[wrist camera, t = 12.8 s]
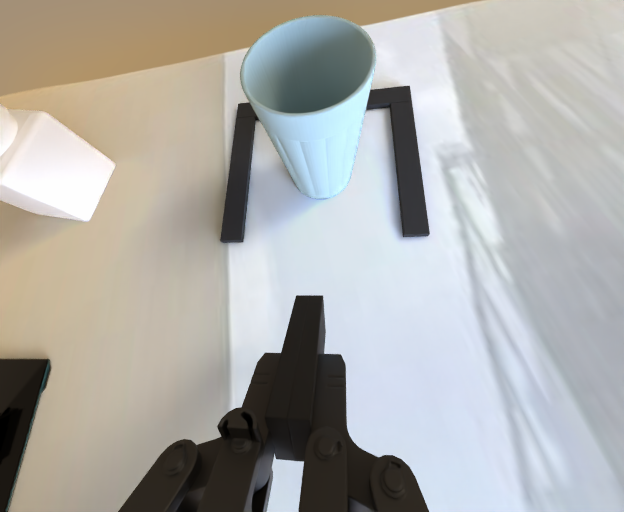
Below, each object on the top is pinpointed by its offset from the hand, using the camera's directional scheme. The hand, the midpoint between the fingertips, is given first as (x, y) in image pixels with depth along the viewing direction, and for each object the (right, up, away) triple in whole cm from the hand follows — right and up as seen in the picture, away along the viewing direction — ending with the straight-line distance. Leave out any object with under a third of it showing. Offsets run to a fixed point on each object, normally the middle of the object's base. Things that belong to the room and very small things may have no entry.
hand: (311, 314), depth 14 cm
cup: (+1, +11, +10) cm, 15 cm away
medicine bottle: (-25, +11, +13) cm, 30 cm away
